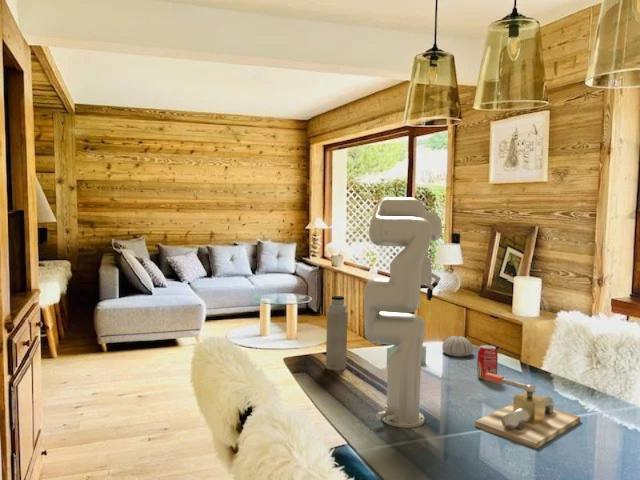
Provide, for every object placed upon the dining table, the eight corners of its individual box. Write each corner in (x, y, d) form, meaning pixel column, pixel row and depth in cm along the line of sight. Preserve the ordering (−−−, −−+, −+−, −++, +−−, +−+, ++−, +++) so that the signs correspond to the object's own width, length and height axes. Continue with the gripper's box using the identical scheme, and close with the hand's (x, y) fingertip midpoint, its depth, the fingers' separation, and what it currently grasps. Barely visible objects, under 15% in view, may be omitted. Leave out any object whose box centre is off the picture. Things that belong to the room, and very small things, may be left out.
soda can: (482, 374, 195) (483, 343, 194) (500, 378, 190) (501, 346, 189) (473, 377, 190) (474, 346, 189) (491, 382, 185) (492, 350, 184)
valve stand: (536, 448, 133) (537, 413, 132) (474, 426, 146) (476, 394, 146) (580, 421, 151) (581, 390, 151) (522, 403, 165) (523, 375, 164)
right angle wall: (386, 366, 204) (387, 347, 203) (398, 359, 214) (398, 341, 213) (415, 371, 197) (415, 352, 197) (425, 364, 208) (426, 346, 207)
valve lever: (536, 391, 148) (537, 385, 148) (532, 393, 146) (532, 387, 146) (488, 377, 160) (489, 372, 159) (484, 379, 158) (484, 373, 158)
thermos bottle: (321, 367, 198) (323, 296, 196) (333, 363, 204) (335, 294, 203) (338, 371, 193) (340, 298, 192) (350, 366, 200) (351, 296, 198)
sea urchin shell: (441, 356, 218) (441, 338, 217) (442, 348, 231) (442, 331, 230) (473, 359, 214) (474, 341, 214) (472, 351, 227) (473, 333, 227)
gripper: (395, 253, 180) (394, 301, 181) (443, 254, 181) (442, 301, 182) (391, 251, 188) (390, 297, 188) (438, 252, 188) (436, 298, 189)
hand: (415, 299), depth 185 cm, fingers open, 9 cm apart
